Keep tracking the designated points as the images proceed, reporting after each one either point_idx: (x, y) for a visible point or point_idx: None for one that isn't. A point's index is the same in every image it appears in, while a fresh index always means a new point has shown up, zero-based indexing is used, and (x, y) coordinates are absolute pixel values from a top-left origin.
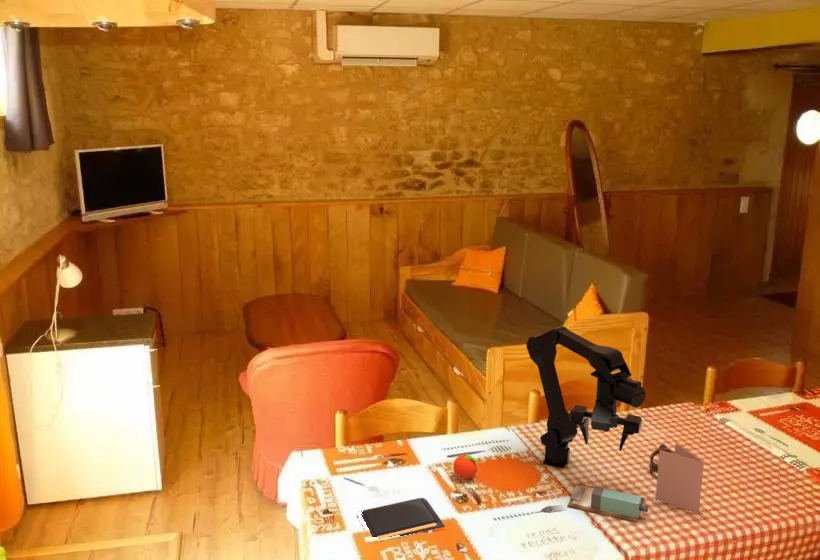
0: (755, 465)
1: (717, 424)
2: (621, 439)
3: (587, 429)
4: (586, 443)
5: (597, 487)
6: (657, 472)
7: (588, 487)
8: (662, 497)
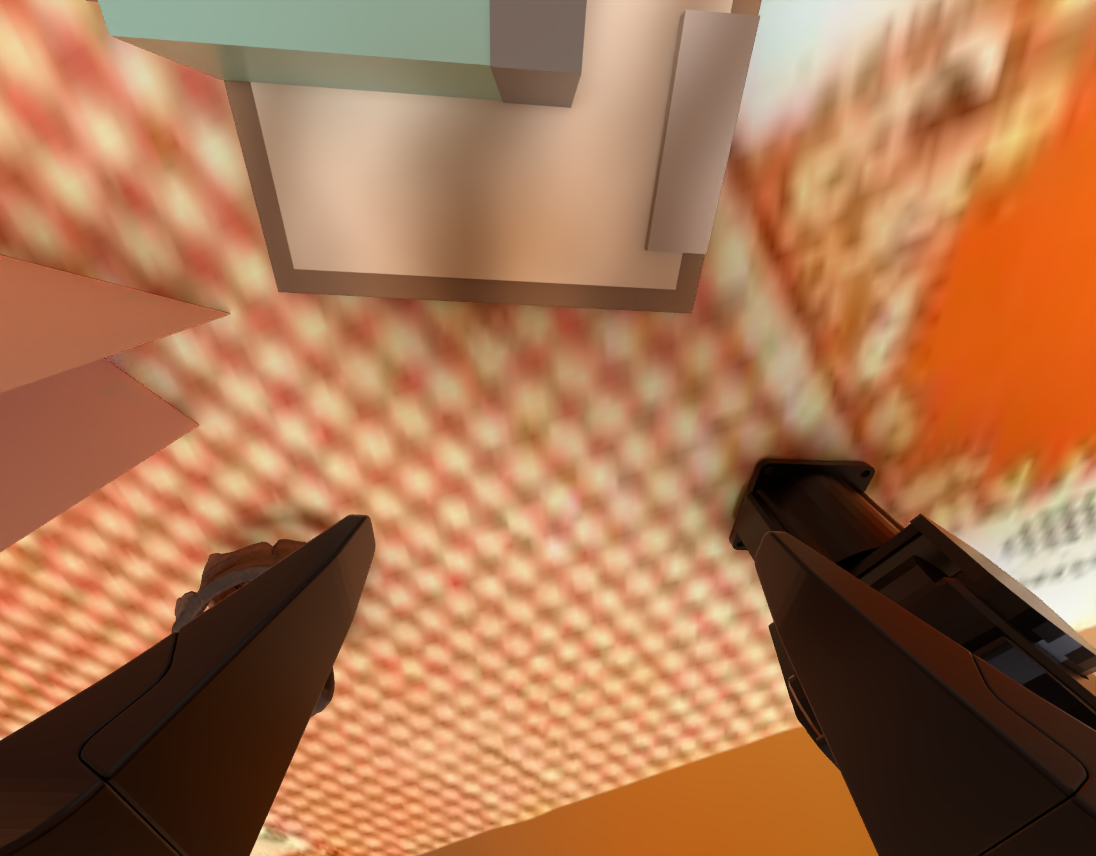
0: (50, 695)
1: (280, 820)
2: (197, 674)
3: (896, 771)
4: (782, 535)
5: (553, 53)
6: (301, 543)
7: (624, 282)
8: (159, 309)
